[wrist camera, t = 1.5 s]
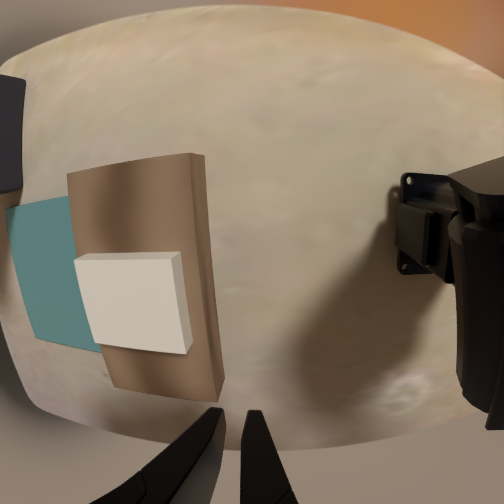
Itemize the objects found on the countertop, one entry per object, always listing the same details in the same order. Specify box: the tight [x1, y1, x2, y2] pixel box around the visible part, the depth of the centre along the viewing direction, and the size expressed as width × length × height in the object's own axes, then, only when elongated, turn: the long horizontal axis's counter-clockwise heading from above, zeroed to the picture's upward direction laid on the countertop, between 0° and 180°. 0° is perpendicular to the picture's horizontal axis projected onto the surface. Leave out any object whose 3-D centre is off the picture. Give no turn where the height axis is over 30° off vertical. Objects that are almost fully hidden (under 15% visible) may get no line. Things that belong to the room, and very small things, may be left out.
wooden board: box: [67, 153, 225, 402], centre depth 19 cm, size 9×17×3 cm, turn 3°
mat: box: [5, 196, 102, 353], centre depth 22 cm, size 12×14×1 cm
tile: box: [74, 252, 193, 354], centre depth 17 cm, size 7×6×2 cm
